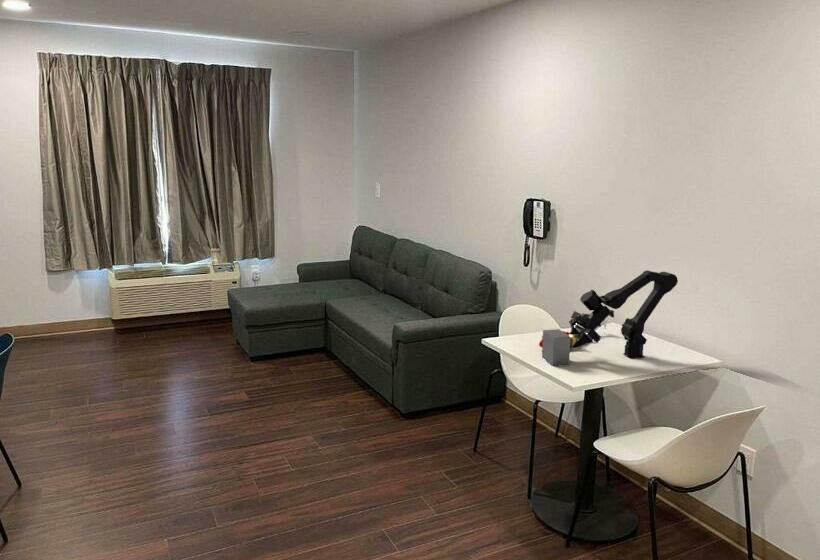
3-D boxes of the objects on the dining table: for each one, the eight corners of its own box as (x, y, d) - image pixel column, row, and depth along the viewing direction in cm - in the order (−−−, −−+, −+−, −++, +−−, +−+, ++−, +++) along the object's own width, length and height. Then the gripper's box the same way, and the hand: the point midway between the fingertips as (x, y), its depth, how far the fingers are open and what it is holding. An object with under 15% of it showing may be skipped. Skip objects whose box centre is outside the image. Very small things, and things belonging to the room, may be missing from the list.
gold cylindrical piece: (574, 346, 265) (575, 332, 264) (580, 350, 260) (581, 336, 258) (556, 347, 264) (556, 333, 263) (562, 351, 258) (563, 337, 257)
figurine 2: (597, 340, 297) (612, 329, 300) (589, 319, 293) (604, 308, 295) (586, 336, 304) (601, 325, 307) (578, 315, 300) (593, 305, 302)
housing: (557, 356, 268) (558, 329, 265) (568, 365, 257) (570, 336, 255) (542, 357, 266) (543, 330, 264) (552, 366, 256) (553, 337, 253)
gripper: (574, 299, 268) (548, 326, 268) (594, 310, 250) (567, 338, 250) (590, 317, 271) (565, 343, 271) (612, 328, 253) (585, 356, 253)
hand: (570, 345), depth 262 cm, fingers closed on gold cylindrical piece, 6 cm apart
